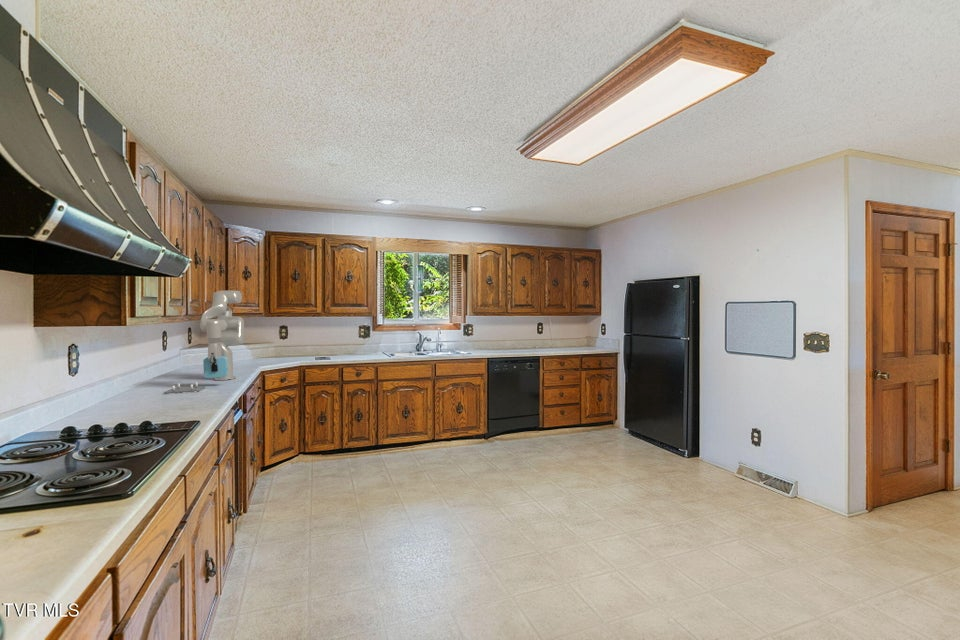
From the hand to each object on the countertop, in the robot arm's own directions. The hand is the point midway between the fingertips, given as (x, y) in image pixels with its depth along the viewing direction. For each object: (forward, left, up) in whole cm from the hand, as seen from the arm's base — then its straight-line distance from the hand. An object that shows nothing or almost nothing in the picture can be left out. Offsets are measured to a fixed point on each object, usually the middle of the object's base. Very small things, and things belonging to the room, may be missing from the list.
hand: (215, 370), depth 276 cm
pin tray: (+12, -13, -9) cm, 20 cm away
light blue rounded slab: (0, 0, -4) cm, 4 cm away
